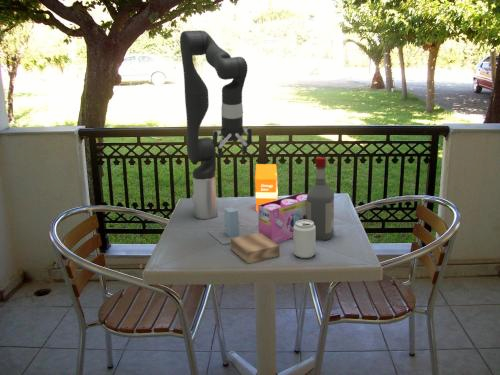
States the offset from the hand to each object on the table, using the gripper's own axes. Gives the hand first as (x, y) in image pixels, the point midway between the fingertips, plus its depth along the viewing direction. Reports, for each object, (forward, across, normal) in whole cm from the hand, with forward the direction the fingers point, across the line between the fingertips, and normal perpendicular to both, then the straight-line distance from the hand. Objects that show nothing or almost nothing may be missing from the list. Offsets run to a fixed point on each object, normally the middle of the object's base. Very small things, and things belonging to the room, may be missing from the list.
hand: (232, 155), depth 192 cm
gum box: (+29, -18, +14) cm, 37 cm away
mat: (+30, +2, +9) cm, 31 cm away
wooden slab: (+26, -2, +27) cm, 37 cm away
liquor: (+28, -30, +20) cm, 45 cm away
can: (+24, -18, +34) cm, 45 cm away
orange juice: (+35, -19, -16) cm, 43 cm away
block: (+29, +2, +8) cm, 30 cm away
